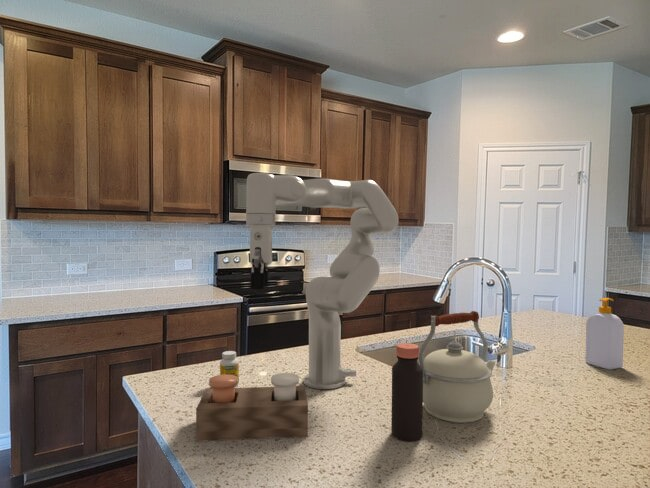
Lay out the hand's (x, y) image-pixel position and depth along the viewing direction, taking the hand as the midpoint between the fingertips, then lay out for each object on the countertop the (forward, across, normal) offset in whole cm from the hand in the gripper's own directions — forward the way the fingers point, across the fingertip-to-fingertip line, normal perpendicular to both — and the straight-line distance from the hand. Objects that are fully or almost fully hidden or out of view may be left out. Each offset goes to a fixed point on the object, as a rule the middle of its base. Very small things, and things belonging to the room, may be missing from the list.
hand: (259, 286), depth 114 cm
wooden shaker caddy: (+31, -14, -1) cm, 34 cm away
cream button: (+25, -13, -8) cm, 30 cm away
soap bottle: (+29, +31, -114) cm, 122 cm away
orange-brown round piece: (+26, -14, +6) cm, 30 cm away
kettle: (+30, -5, -51) cm, 60 cm away
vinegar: (+31, -18, -35) cm, 50 cm away
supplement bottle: (+31, +14, +10) cm, 35 cm away
